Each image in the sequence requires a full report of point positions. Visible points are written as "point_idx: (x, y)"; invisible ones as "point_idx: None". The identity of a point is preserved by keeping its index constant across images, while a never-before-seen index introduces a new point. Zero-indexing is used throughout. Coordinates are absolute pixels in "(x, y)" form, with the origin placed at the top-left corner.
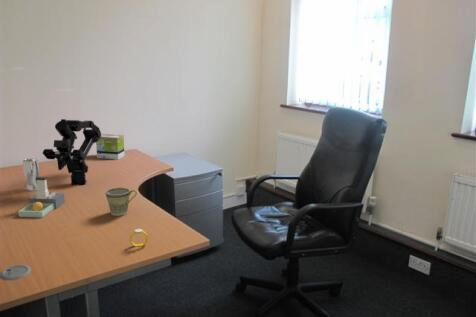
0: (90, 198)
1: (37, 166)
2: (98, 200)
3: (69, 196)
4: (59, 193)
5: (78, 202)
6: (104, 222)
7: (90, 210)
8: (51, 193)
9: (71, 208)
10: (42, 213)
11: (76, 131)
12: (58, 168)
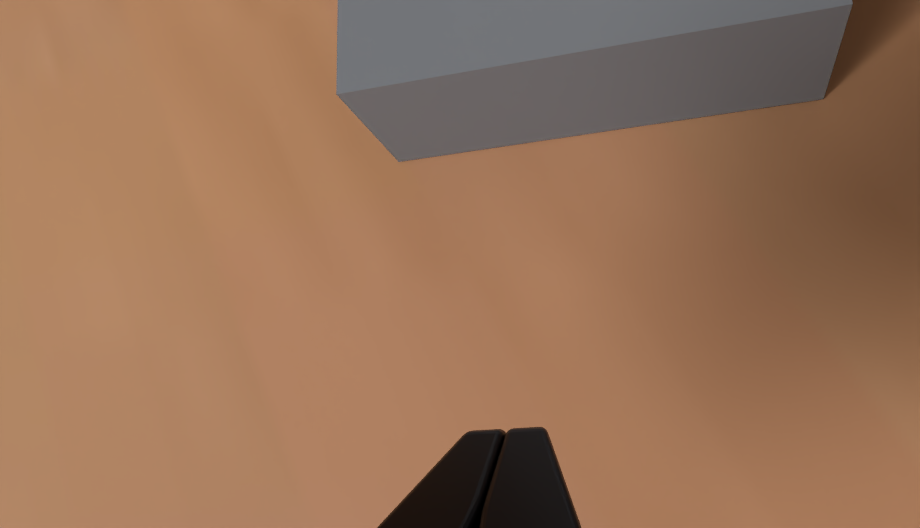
0: (122, 399)
1: None
2: (6, 336)
3: None
4: (407, 64)
5: (223, 211)
6: None
7: (17, 12)
8: (548, 26)
9: (228, 4)
10: None
11: None
12: (533, 435)
